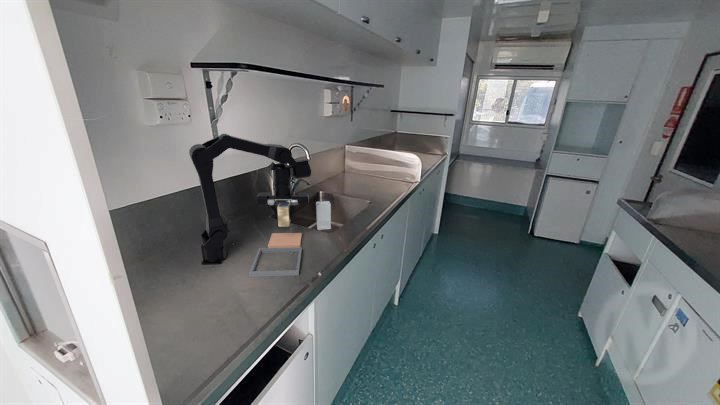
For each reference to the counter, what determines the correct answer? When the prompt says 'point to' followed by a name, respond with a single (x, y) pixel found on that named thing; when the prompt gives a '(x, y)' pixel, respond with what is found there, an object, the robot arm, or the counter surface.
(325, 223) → the skincare box
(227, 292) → the counter surface
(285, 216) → the birch label block
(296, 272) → the grey picture frame
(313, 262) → the counter surface
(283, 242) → the terracotta tile
